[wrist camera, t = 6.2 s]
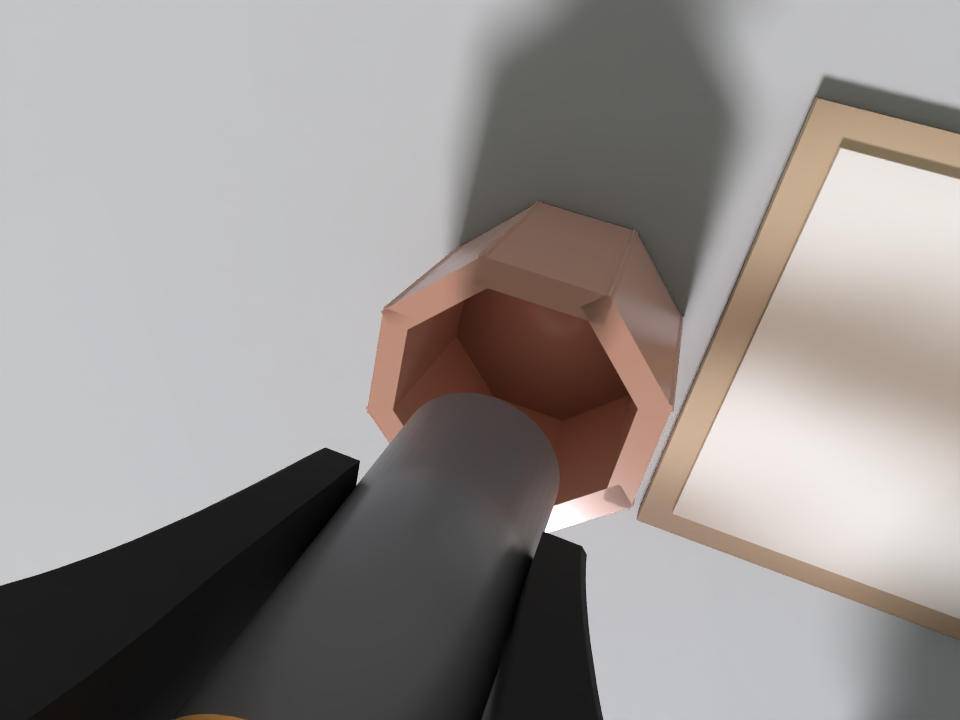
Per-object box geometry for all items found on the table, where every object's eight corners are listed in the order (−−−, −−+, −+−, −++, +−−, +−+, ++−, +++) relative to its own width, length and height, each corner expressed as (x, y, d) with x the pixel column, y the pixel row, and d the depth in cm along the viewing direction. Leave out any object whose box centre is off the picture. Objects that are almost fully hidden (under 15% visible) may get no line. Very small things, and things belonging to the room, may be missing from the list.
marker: (537, 560, 13) (331, 1179, 6) (386, 500, 13) (33, 1005, 6) (584, 427, 11) (381, 1043, 4) (412, 365, 12) (-11, 832, 5)
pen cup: (629, 453, 20) (606, 570, 15) (429, 382, 21) (355, 473, 16) (710, 251, 17) (709, 325, 12) (471, 179, 18) (394, 225, 13)
